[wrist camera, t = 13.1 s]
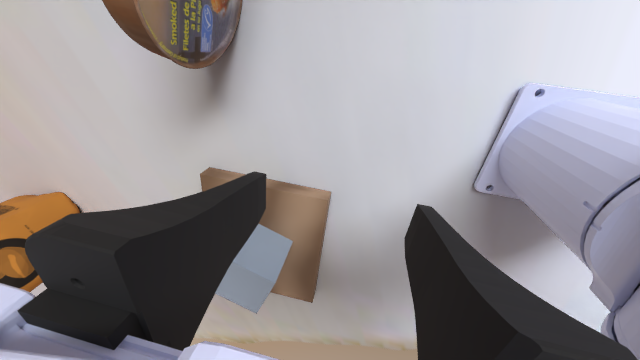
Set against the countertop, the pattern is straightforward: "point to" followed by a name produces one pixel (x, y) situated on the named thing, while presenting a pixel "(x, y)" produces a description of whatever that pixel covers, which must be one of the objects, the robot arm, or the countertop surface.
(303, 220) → the walnut board
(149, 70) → the countertop surface
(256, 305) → the slate cube
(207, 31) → the tin
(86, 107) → the countertop surface
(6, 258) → the coffee package
